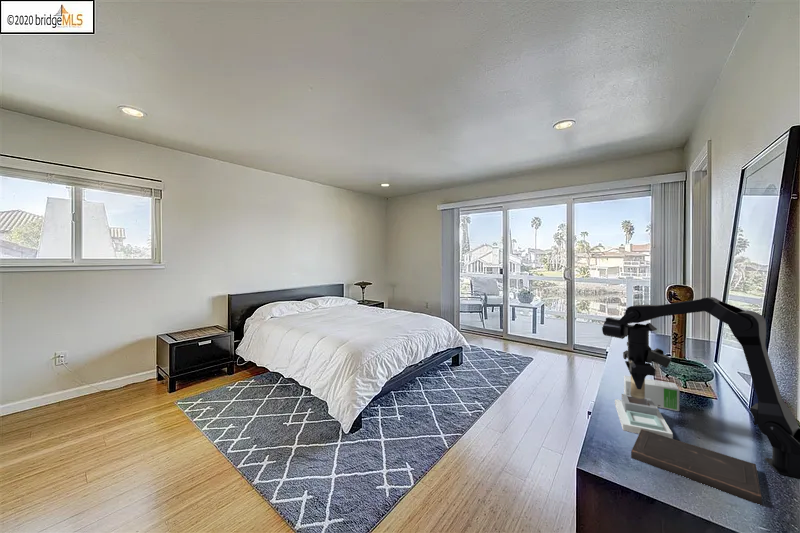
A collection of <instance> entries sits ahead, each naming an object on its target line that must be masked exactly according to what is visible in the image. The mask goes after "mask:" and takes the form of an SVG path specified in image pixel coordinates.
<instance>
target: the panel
mask: <svg viewBox="0 0 800 533" xmlns="http://www.w3.org/2000/svg"><path fill="white" fill-rule="evenodd" d="M614 406H615V410H616V412H617V415H618V419H619V422H620V425H621V428H622V431H623V432H629V433H633V434H638V435H639V433H640V431H641V429H642V430H646V431H649V432H652V433H655V434H659V435H662V436H665V437H669V438H672V439H674V434H673V431H672V430H671V429H670V427H669V425H668V424H667V422H666V420H665V418H664V417H663V415H662V413H661V411H660V410H659V407H656V406H655V405H654V403H653V401H652V400H651V399H650V398H645V399H637V398H634V397H632V396H631V395H625V394H624V393H621V399H618V398H616V399H614Z"/></svg>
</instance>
